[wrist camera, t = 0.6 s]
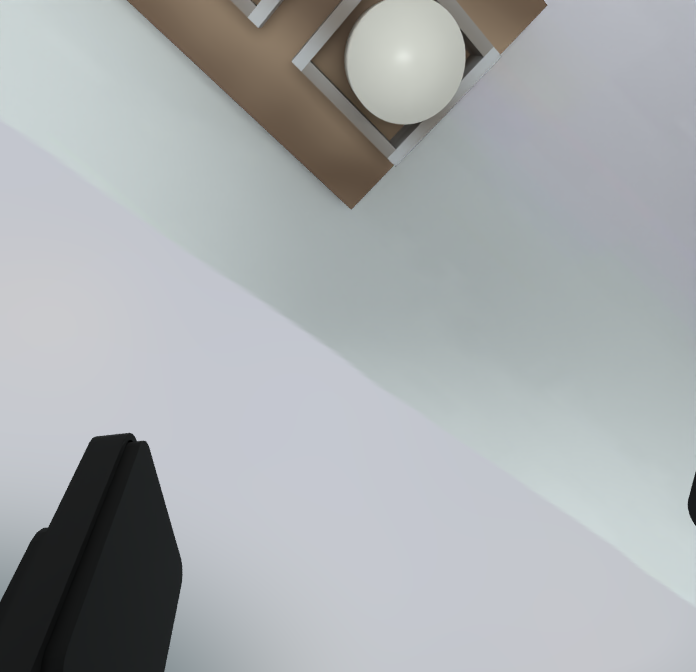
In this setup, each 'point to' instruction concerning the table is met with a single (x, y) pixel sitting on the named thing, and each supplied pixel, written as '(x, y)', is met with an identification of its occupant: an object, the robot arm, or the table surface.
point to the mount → (321, 74)
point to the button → (405, 59)
